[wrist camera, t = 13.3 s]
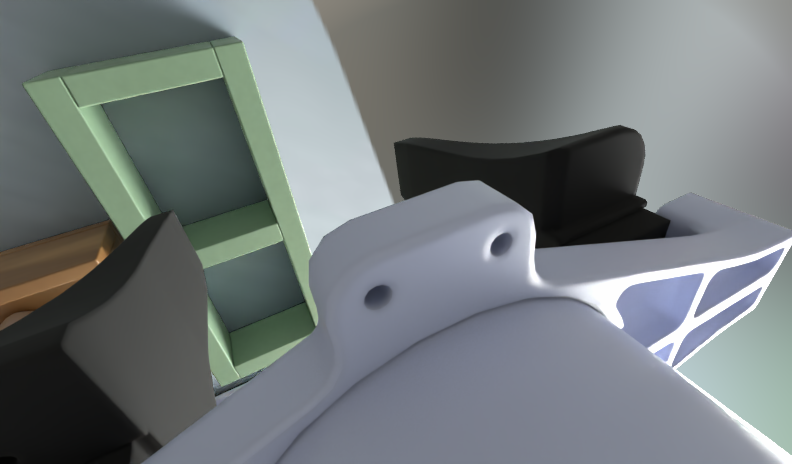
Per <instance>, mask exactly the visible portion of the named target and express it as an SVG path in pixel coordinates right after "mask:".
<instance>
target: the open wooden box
mask: <svg viewBox="0 0 792 464" xmlns="http://www.w3.org/2000/svg"><path fill="white" fill-rule="evenodd" d="M123 241H124V239H123V238H122V236H121V235H120V233H119V232H118V230H117V229H116V227H115V226H114V224H113V223H112V221H111V220H107V221H103V222H100V223H97V224H93V225H90V226H86V227H83V228H80V229H76V230H73V231H70V232H66V233H63V234H59V235H56V236H53V237H49V238H46V239H43V240H39V241H36V242H33V243H29V244H26V245H22V246H19V247H16V248H12V249H9V250H6V251H2V252H0V325H1V323H2V322H3V321H4V320H5V319H6V318H7V317H9V316H10V315H12V314H14V313H17V312H22V311H35V310H36V309H38V308H39V307H41V306H43V305H44V304H46V303H47V302H49V301H51V300H52V299H54V298H55V297H57V296H58V295H60V294H61V293H63V292H64V291H65V290H67V289H68V288H70V287H71V286H72V285H74V284H75V283H76V282H78V281H79V280H80V279H82V278H83V277H84V276H85V275H87V274H88V273H89V272H90V271H92V270H93V269H94V268H95V267H96V266H97V265H98V264H99V263H101V262H102V261H103V260H104V259H105V258H106V257H107V256H108V255H109V254H111V253H112V252H113V251H114V250H115V249H116V248H117V247H118V246H119V245H120V244H121V243H122V242H123Z"/></svg>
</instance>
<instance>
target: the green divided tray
mask: <svg viewBox="0 0 792 464" xmlns="http://www.w3.org/2000/svg"><path fill="white" fill-rule="evenodd" d="M222 77H223V79H224V82H225V85H226V87H227V90H228V93H229V96H230V98H231V101H232V104H233V106H234V109H235V112H236V115H237V117H238V120H239V123H240V125H241V128H242V131H243V134H244V136H245V139H246V142H247V144H248V147H249V150H250V153H251V155H252V158H253V161H254V163H255V166H256V169H257V172H258V174H259V177H260V180H261V182H262V185H263V188H264V191H265V193H266V196H267V199H268V200H265V201H262V202H258V203H255V204H252V205H249V206H246V207H243V208H240V209H236V210H233V211H230V212H227V213H224V214H221V215H217V216H214V217H211V218H208V219H205V220H202V221H199V222H195V223H192V224H189V225H186V226H183V229H184V231H185V233H186V235H187V237H188V238H189V240H190V242H191V244H192V246H193V248H194V250H195V251H196V253H197V255H198V257H199V259H200V261H201V263H202V265H203V269H205V268H208V267H211V266H213V265H216V264H219V263H222V262H225V261H227V260H230V259H233V258H236V257H239V256H242V255H244V254H247V253H250V252H253V251H256V250H259V249H261V248H264V247H267V246H270V245H273V244H276V243H278V242H281V241H283V242H284V245H285V248H286V250H287V253H288V256H289V259H290V261H291V264H292V267H293V269H294V272H295V275H296V278H297V280H298V283H299V286H300V288H301V291H302V294H303V297H304V299H305V302H306V303H305V302H304V303H302V304H299V305H297V306H295V307H292V308H290V309H287V310H285V311H282V312H280V313H277V314H275V315H273V316H270V317H268V318H265V319H263V320H260V321H258V322H255V323H253V324H251V325H248V326H246V327H243V328H241V329H238V330H236V331H233V332H231V333H229V332H228V330H227V328H226V326H225V325H224V323H223V321H222V319H221V317H220V316H219V314H218V312H217V310H216V309H215V307H214V305H213V303H212V302H211V300H210V298H209V296H208V294H207V300H208V352H209V362H210V369H211V372H212V373H213V375H214V376H215V378H216V379H217V381H218V382H219V384H220V385H221V387H223V386H225V385H227V384H230V383H232V382H234V381H236V380H238V379H240V378H243V377H245V376H248V375H250V374H252V373H254V372H257V371H259V370H261V369H263V368H265V367H268V366H269V365H271V364H272V363H273V362H275V361H276V360H277V359H279V358H280V357H281V356H283V355H284V354H285V353H286V352H288V351H289V350H290V349H292V348H293V347H294V346H296V345H297V344H298V343H300V342H301V341H302V340H304V339H305V338H306V337H307V336H309V335H310V334H311V333H312V332H313V331H314V329H315V328H316V326H317V322H318V313H317V307H316V305H315V302H314V299H313V296H312V293H311V290H310V287H309V260H310V258H311V256H312V254H311V251H310V247H309V244H308V241H307V238H306V235H305V232H304V229H303V226H302V223H301V220H300V217H299V213H298V210H297V207H296V204H295V201H294V198H293V195H292V192H291V189H290V186H289V183H288V179H287V176H286V173H285V170H284V167H283V164H282V161H281V158H280V155H279V152H278V148H277V145H276V142H275V139H274V136H273V133H272V130H271V127H270V124H269V121H268V118H267V114H266V111H265V108H264V105H263V102H262V99H261V96H260V93H259V90H258V87H257V84H256V80H255V77H254V74H253V71H252V68H251V65H250V62H249V59H248V56H247V53H246V50H245V46H244V43H243V42H242V41H241V40H239V39H238V38H236V37H228V38H223V39H218V40H212V41H210V42H208V41H207V42H202V43H196V44H191V45H186V46H180V47H175V48H169V49H164V50H159V51H153V52H148V53H142V54H137V55H132V56H126V57H121V58H116V59H110V60H105V61H99V62H94V63H89V64H83V65H80V66H72V67H67V68H62V69H56V70H51V71H47V72H45V73H43V74H41V75H38V76H36V77H34V78H32V79H30V80H28V81H26V82H23V83H22V85H23V87H24V88H25V90H26V91H27V93H28V94H29V96H30V97H31V99H32V101H33V102H34V104H35V105H36V107H37V108H38V110H39V111H40V113H41V114H42V116H43V117H44V119H45V120H46V122H47V123H48V125H49V126H50V128H51V129H52V131H53V132H54V134H55V135H56V137H57V138H58V140H59V141H60V143H61V144H62V146H63V147H64V149H65V151H66V152H67V154H68V155H69V157H70V158H71V160H72V161H73V163H74V164H75V166H76V167H77V169H78V170H79V172H80V173H81V175H82V176H83V178H84V179H85V181H86V182H87V184H88V185H89V187H90V188H91V190H92V191H93V193H94V194H95V196H96V198H97V199H98V201H99V202H100V204H101V205H102V207H103V208H104V210H105V211H106V213H107V214H108V216H109V217H110V219H111V220H112V222H113V223H114V225H115V226H116V228H117V229H118V231H119V232H120V234H121V235H122V237H123V238H124V240H125V239H126V238H127V237H128V236H129V235H130V234H131V233H132V232H133V231H134V230H135V229H136V228H137V227H138V226H139V225H140V224H142V223H143V222H144V221H145V220H146V219H148V218H149V217H151V216H154V215H158V214H161V211H160V209H159V207H158V206H157V204H156V202H155V200H154V199H153V197H152V195H151V193H150V191H149V190H148V188H147V186H146V184H145V183H144V181H143V179H142V177H141V176H140V174H139V172H138V170H137V168H136V167H135V165H134V163H133V161H132V160H131V158H130V156H129V154H128V152H127V151H126V149H125V147H124V145H123V144H122V142H121V140H120V138H119V136H118V135H117V133H116V131H115V129H114V128H113V126H112V124H111V122H110V120H109V119H108V117H107V115H106V113H105V112H104V110H103V108H102V106H101V105H100V104H102V103H107V102H112V101H116V100H121V99H126V98H130V97H135V96H140V95H144V94H149V93H154V92H158V91H163V90H167V89H172V88H177V87H181V86H186V85H191V84H195V83H200V82H205V81H209V80H214V79H219V78H222Z"/></svg>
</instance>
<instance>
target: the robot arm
mask: <svg viewBox="0 0 792 464" xmlns="http://www.w3.org/2000/svg"><path fill="white" fill-rule="evenodd" d="M394 148H395V155H396V162H397V169H398V177H399V184H400V191H401V195H402V197H403V198H404V199H405V201H402V202H399V203H396V204H393V205H391V206H388V207H385V208H382V209H379V210H377V211H374V212H371V213H368V214H365V215H363V216H360V217H357V218H354V219H351V220H349V221H347V222H346V223H344V224H343V225H341V226H339V227H338V228H336V229H335V230H333V231H332V232H330V233H328V234H327V235H325V236H324V237H323V239H322V240H321V242H320V243H319V245H318V247H317V248H316V250H315V251H314V253H313V255H312V256H311V258H310V260H309V287H310V290H311V293H312V296H313V299H314V302H315V305H316V307H317V313H318V322H317V326H316V328H315V329H314V331H313V332H312V333H311V334H310V335H309V336H307V337H306V338H305V339H304V340H302V341H301V342H300V343H298V344H297V345H296V346H294V347H293V348H292V349H290V350H289V351H288V352H286V353H285V354H284V355H283V356H281V357H280V358H279V359H277V360H276V361H275V362H273V363H272V364H271V365H269V366H268V367H267V368H266V369H264V370H263V371H262V372H260V373H259V374H258V375H256V376H255V377H254V378H252V379H251V380H250V381H249V382H247V383H245V384H243V385H241V386H238V387H236V388H234V389H232V390H230V391H227V392H225V393H223V394H221V395H218V396H216V397H215V394H214V388H213V382H212V376H211V369H210V362H209V352H208V300H207V285H206V280H205V275H204V270H203V265H202V263H201V261H200V259H199V257H198V255H197V253H196V251H195V250H194V248H193V246H192V244H191V242H190V240H189V238H188V237H187V235H186V233H185V231H184V229H183V227H182V226H181V224H180V222H179V220H178V218H177V216H176V214H175V213H174V211H173V210H171V211H168V212H164V213H161V214H158V215H154V216H151V217H149V218H148V219H146V220H145V221H144V222H143V223H142V224H140V225H139V226H138V227H137V228H136V229H135V230H134V231H133V232H132V233H131V234H130V235H129V236H128V237H127V238H126V239H125V240H124V241H123V242H122V243H121V244H120V245H119V246H118V247H117V248H116V249H115V250H114V251H113V252H112V253H111V254H109V255H108V256H107V257H106V258H105V259H104V260H103V261H102V262H101V263H99V264H98V265H97V266H96V267H95V268H94V269H93V270H92V271H90V272H89V273H88V274H87V275H85V276H84V277H83V278H82V279H80V280H79V281H78V282H76V283H75V284H74V285H72V286H71V287H70V288H68V289H67V290H65V291H64V292H63V293H61V294H60V295H58V296H57V297H55V298H54V299H52V300H51V301H49V302H47V303H46V304H44V305H43V306H41V307H39V308H38V309H36V310H35V311H33V312H31V313H30V314H28V315H27V316H25V317H23V318H22V319H20V320H19V321H17V322H15V323H13V324H12V325H10V326H8V327H6V328H4V329H2V330H1V331H0V464H792V456H791V455H789V454H788V453H787V452H785V451H784V450H783V449H781V448H780V447H779V446H777V445H776V444H775V443H773V442H772V441H771V440H769V439H768V438H766V437H765V436H764V435H763V434H761V433H760V432H758V431H757V430H756V429H755V428H753V427H752V426H750V425H749V424H748V423H746V422H745V421H744V420H742V419H741V418H740V417H738V416H737V415H736V414H734V413H733V412H732V411H730V410H729V409H728V408H726V407H725V406H724V405H722V404H721V403H720V402H718V401H717V400H715V399H714V398H713V397H712V396H710V395H709V394H707V393H706V392H705V391H704V390H702V389H701V388H699V387H698V386H697V385H695V384H694V383H693V382H691V381H690V380H689V379H687V378H686V377H685V376H683V375H682V374H681V373H679V372H678V371H676V370H675V369H676V368H677V367H679V366H680V365H681V364H682V363H684V362H685V361H686V360H687V359H688V358H689V357H690V356H692V355H693V354H694V353H695V352H697V351H698V350H699V349H700V348H702V347H703V346H704V345H705V344H706V343H708V342H709V341H710V340H711V339H712V338H714V337H715V336H717V335H718V334H719V333H721V332H722V331H723V330H725V329H726V328H727V327H729V326H730V325H731V324H733V323H734V322H736V321H737V320H739V319H740V318H741V317H743V316H744V315H746V314H747V313H749V312H750V311H752V310H753V309H754V308H755V307H756V305H757V303H758V302H759V300H760V298H761V296H762V295H763V293H764V291H765V290H766V288H767V286H768V284H769V283H770V281H771V279H772V277H773V276H774V274H775V272H776V270H777V268H778V267H779V265H780V263H781V262H782V260H783V258H784V256H785V255H786V253H787V251H788V249H789V248H790V246H791V244H792V230H790V229H788V228H785V227H783V226H780V225H777V224H774V223H772V222H769V221H766V220H764V219H761V218H758V217H756V216H753V215H750V214H748V213H745V212H742V211H739V210H737V209H734V208H731V207H729V206H726V205H723V204H721V203H718V202H715V201H712V200H710V199H707V198H704V197H701V196H699V195H696V194H694V193H688V194H685V195H683V196H681V197H679V198H677V199H674V200H672V201H670V202H668V203H666V204H664V205H663V206H662V207H660V208H659V209H658V210H657V212H656V213H653V212H650V211H648V210H646V209H644V207H646V205H647V201H646V200H645V199H643V198H641V197H638V196H636V192H637V188H638V184H639V181H640V177H641V173H642V168H643V165H644V159H645V145H644V141H643V139H642V136H641V135H640V134H639V133H638V132H637V131H636V130H634V129H631V128H627V127H624V126H621V125H618V126H613V127H609V128H604V129H600V130H596V131H592V132H588V133H584V134H579V135H575V136H569V137H563V138H557V139H552V140H544V141H534V142H524V143H505V144H504V143H500V144H489V143H469V142H458V141H449V140H440V139H430V138H409V139H405V140H402V141H399V142H395V143H394Z"/></svg>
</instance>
